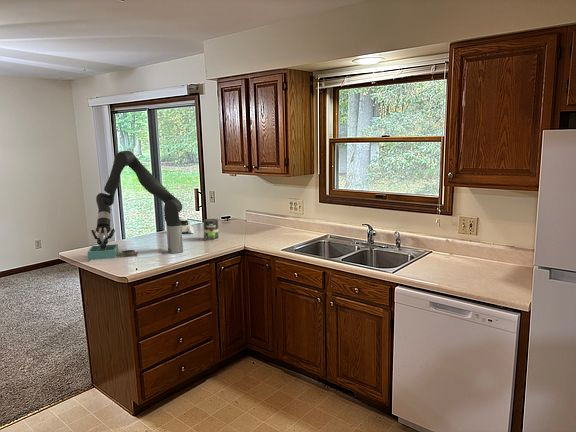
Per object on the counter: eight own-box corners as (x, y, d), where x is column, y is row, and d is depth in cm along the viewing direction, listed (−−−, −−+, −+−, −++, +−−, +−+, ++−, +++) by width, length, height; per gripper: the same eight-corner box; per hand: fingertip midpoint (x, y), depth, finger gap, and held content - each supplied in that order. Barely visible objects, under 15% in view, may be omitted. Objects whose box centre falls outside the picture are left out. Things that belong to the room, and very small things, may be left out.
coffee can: (219, 240, 301) (218, 220, 299) (204, 241, 299) (203, 221, 297) (218, 237, 311) (217, 218, 309) (204, 238, 309) (203, 219, 307)
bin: (118, 253, 269) (118, 244, 268) (115, 259, 255) (114, 250, 254) (93, 255, 266) (92, 245, 264) (88, 261, 251) (87, 251, 250)
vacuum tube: (108, 251, 262) (106, 232, 260) (107, 253, 258) (105, 233, 256) (100, 251, 261) (98, 232, 259) (99, 253, 257) (97, 234, 255)
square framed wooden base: (138, 253, 268) (138, 248, 268) (136, 258, 258) (136, 253, 257) (119, 255, 266) (119, 250, 265) (117, 259, 255) (117, 254, 255)
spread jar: (177, 232, 330) (176, 217, 328) (192, 231, 334) (191, 216, 332) (179, 235, 319) (178, 220, 317) (195, 234, 323) (194, 218, 321)
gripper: (90, 217, 261) (88, 241, 252) (115, 216, 265) (113, 240, 255) (92, 224, 267) (90, 248, 258) (116, 223, 271) (115, 246, 261)
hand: (102, 244), depth 257 cm, fingers closed on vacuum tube, 3 cm apart
